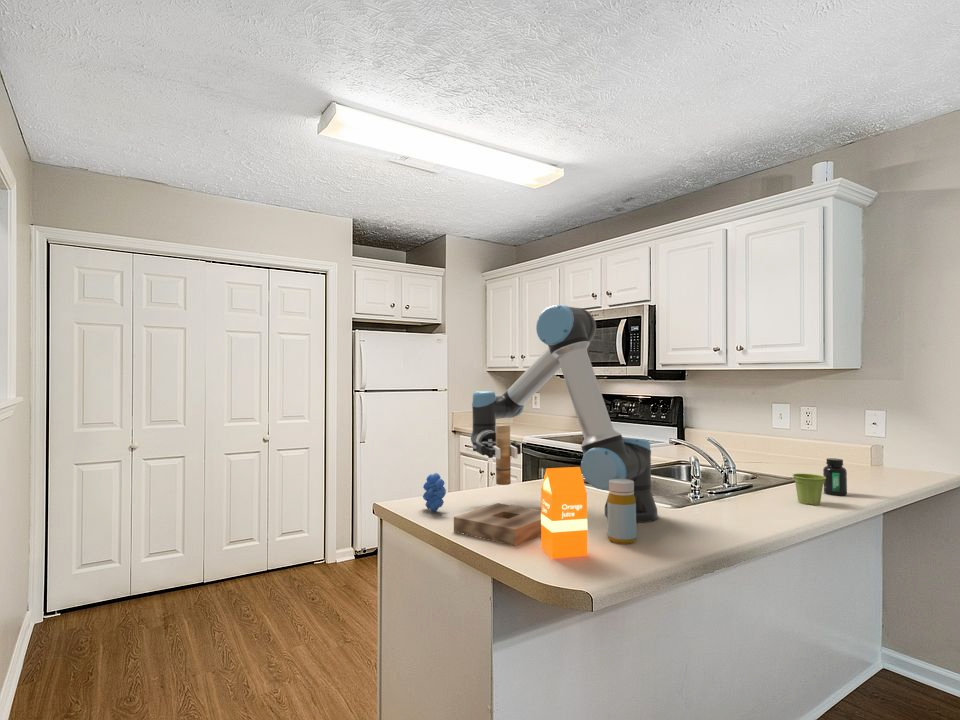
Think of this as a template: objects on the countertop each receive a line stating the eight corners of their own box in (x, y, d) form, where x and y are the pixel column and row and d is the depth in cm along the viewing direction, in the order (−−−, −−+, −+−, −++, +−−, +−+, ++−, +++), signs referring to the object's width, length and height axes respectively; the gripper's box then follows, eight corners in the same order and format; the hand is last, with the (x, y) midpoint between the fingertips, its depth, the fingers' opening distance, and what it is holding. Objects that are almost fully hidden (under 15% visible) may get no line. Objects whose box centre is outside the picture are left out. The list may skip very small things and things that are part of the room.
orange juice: (541, 548, 137) (540, 465, 138) (575, 545, 139) (574, 464, 140) (552, 559, 130) (551, 471, 130) (588, 555, 132) (587, 469, 132)
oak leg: (513, 483, 158) (513, 425, 158) (504, 485, 154) (504, 426, 155) (502, 481, 160) (501, 424, 160) (493, 483, 157) (492, 425, 157)
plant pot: (808, 498, 188) (807, 472, 189) (833, 505, 180) (833, 477, 180) (785, 500, 186) (785, 474, 186) (810, 507, 177) (810, 479, 177)
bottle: (605, 536, 147) (604, 478, 148) (632, 536, 147) (631, 478, 147) (610, 544, 140) (610, 483, 141) (639, 544, 140) (638, 483, 140)
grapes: (456, 513, 172) (455, 473, 172) (436, 516, 168) (436, 476, 168) (437, 506, 181) (436, 468, 182) (418, 509, 178) (418, 470, 178)
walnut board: (556, 527, 155) (556, 513, 155) (515, 545, 140) (515, 529, 140) (498, 516, 168) (497, 503, 168) (453, 531, 152) (453, 516, 152)
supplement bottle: (840, 497, 191) (839, 461, 191) (819, 493, 196) (819, 458, 197) (851, 494, 194) (850, 459, 194) (830, 491, 200) (829, 457, 200)
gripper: (517, 454, 177) (538, 466, 154) (463, 456, 173) (476, 468, 150) (516, 430, 177) (538, 438, 154) (462, 431, 174) (476, 440, 151)
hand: (507, 453), depth 152 cm, fingers closed on oak leg, 4 cm apart
